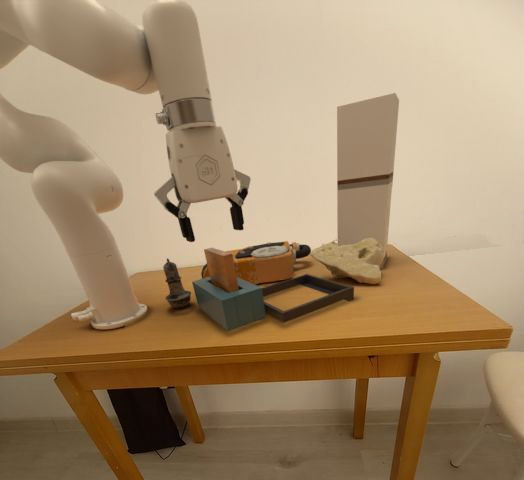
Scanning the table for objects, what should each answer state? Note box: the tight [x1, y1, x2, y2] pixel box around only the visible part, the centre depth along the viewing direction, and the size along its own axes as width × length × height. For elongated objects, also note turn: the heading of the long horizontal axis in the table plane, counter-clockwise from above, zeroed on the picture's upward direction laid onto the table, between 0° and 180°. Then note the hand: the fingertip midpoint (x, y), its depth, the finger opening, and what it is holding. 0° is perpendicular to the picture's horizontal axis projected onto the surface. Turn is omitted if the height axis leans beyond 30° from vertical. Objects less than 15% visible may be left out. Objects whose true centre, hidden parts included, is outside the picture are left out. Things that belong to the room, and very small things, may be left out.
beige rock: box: [309, 238, 384, 285], centre depth 71 cm, size 15×7×15 cm
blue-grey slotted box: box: [191, 277, 267, 332], centre depth 61 cm, size 8×16×7 cm, turn 31°
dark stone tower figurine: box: [162, 257, 192, 310], centre depth 66 cm, size 6×6×12 cm
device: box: [200, 240, 312, 285], centre depth 83 cm, size 23×8×30 cm
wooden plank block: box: [203, 247, 239, 293], centre depth 59 cm, size 10×2×12 cm, turn 31°
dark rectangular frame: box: [261, 273, 355, 323], centre depth 63 cm, size 18×16×3 cm
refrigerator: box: [336, 92, 400, 270], centre depth 73 cm, size 11×11×35 cm
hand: (215, 235), depth 55 cm, fingers open, 9 cm apart
